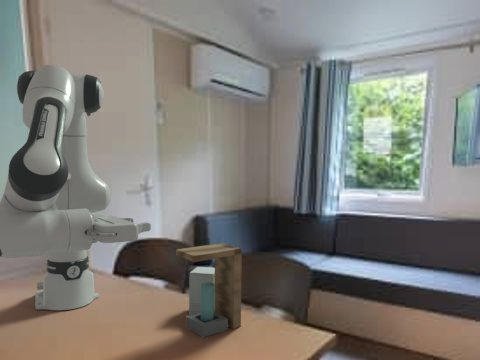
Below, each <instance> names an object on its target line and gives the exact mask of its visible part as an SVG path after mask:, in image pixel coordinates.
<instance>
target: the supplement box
mask: <svg viewBox="0 0 480 360" xmlns="http://www.w3.org/2000/svg"><path fill="white" fill-rule="evenodd" d="M188 281H189V283H188V284H189V286H188V288H189V290H188V297H189V298H188V300H189V301H188V316H190V315H193V314H197V313H201V284H202V283H206V282H210V283H214V296H215V267H213V266H212V267H207V266H206V267H205V266H195V268H194V269H192V270H191V271H190V272H189V280H188Z"/></svg>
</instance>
